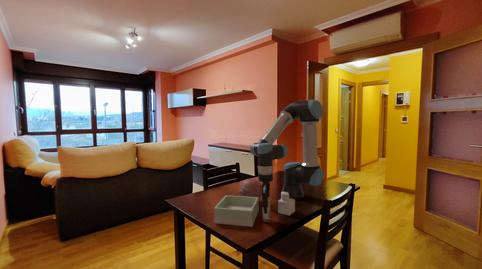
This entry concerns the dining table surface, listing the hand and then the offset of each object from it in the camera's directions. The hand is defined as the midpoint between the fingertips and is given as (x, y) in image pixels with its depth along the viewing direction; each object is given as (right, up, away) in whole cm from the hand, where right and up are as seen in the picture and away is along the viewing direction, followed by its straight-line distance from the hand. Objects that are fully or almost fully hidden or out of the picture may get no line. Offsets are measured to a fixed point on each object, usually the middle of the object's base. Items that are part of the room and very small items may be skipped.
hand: (266, 216), depth 118 cm
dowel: (0, -2, 0) cm, 2 cm away
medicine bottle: (+13, -2, +11) cm, 17 cm away
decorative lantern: (-8, -1, +25) cm, 27 cm away
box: (-15, -2, +7) cm, 17 cm away
